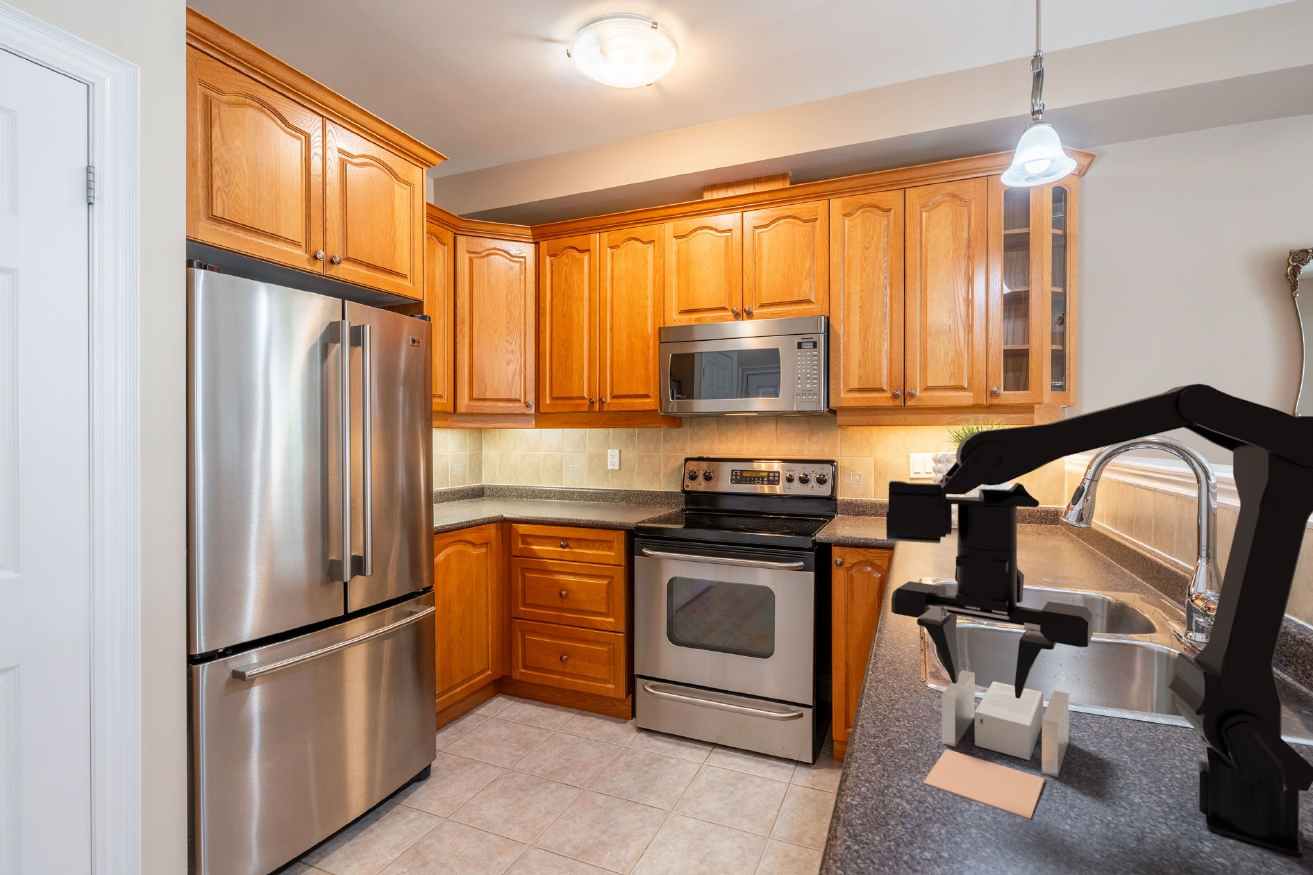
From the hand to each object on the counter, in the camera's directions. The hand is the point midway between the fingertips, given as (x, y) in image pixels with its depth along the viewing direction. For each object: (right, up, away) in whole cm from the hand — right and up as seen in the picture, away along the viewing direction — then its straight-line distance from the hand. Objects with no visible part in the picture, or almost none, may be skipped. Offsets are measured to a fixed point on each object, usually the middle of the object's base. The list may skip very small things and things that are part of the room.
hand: (985, 689), depth 68 cm
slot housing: (+7, -10, +8) cm, 15 cm away
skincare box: (+12, -8, +15) cm, 21 cm away
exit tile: (0, -10, 0) cm, 10 cm away
